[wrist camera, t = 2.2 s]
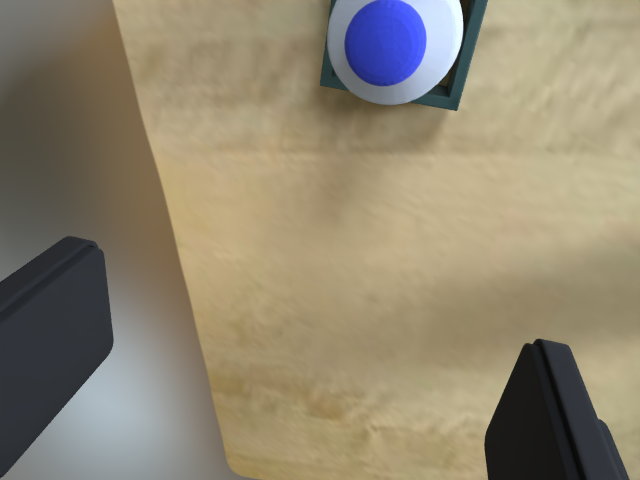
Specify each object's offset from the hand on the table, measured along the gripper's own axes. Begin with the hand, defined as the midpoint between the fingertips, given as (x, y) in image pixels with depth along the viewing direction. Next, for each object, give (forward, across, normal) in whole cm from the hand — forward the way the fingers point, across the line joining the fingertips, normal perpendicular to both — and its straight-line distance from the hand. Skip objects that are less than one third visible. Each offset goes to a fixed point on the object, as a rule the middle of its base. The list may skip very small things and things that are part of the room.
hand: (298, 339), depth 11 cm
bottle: (+32, 0, -5) cm, 33 cm away
